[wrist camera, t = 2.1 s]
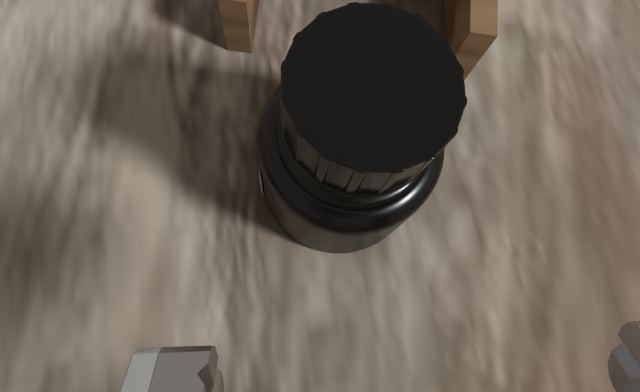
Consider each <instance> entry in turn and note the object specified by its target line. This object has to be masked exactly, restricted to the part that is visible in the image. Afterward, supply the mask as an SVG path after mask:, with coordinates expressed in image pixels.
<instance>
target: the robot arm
mask: <svg viewBox="0 0 640 392" xmlns="http://www.w3.org/2000/svg"><path fill="white" fill-rule="evenodd" d="M618 336H619V337H620V339H621V340H622V343H620V344H619V345H618V346H617V347H615V348H614V349H613V350H612V351H611V354H610V356H609V359H608V371H609V377H610V380H611V382H612V385H613V387H614V389H615V391H616V392H640V321H634V322H627V323H626V324H624V325H623V326H622V327H621V330H620V332H619V334H618ZM217 362H218V354H217V351H216V347H215V346H184V347H157V348H137V350H136V351H135V352H134V354H133V355H132V357H131V360H130V363H129V366H128V369H127V372H126V375H125V378H124V381H123V384H122V386H121V389H120V392H224V383H223V376H222V372H221V371H220V370H218V369H217Z"/></svg>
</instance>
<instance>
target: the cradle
mask: <svg viewBox="0 0 640 392" xmlns="http://www.w3.org/2000/svg"><path fill="white" fill-rule="evenodd" d="M218 2H219V8H220V13H221V19H222V24H223V30H224V35H225V41H226V47H227V50H233V51H241V52H248V53H251V52H252V45H253V38H254V31H255V25H256V18H257V11H258V4H259V0H218ZM442 36H444V37H445V38H446V39H447V40H448V41H449V45H450V47H451V49H452V50H453V52H454V54H455V56H456V58H457V60H458V61H459V63H460V64H461V65H462V67H463V70H464V75H463V77H464V80H465V78H466V77H467V76H468V74H469V73H470V72H471V70H472V69H473V68H474V66H475V65H476V64H477V62H478V61H479V60H480V58H481V57H482V56H483V54H484V53H485V52H486V50H487V49H488V48H489V46H490V45H491V44H492V42H493V41H494V40H495V38H496V37H497V0H444V7H443V35H442Z"/></svg>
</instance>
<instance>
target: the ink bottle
mask: <svg viewBox="0 0 640 392" xmlns="http://www.w3.org/2000/svg"><path fill="white" fill-rule="evenodd" d="M463 75H464V70H463V67H462V65H461V64H460V63H459V61H458V60H457V58H456V56H455V54H454V52H453V50H452V49H451V47H450V45H449V41H448V40H447V39H446V38H445V37H444V36H442V35H441V34H440V33H438V32H437V31H436V30H435V29H434V28H433V27H431V26H430V25H429V24H428V23H427V22H425V20H424V19H423V18H422V17H421V16H419V15H416V14H415V15H414V14H412V13H409V12H407V11H404V10H401V9H399V8H396V7H393V6H392V5H391V4H387V3H382V4H366V3H357V2H353V3H349V4H347V5H346V6H343V7H340V8H337V9H334V10H331V11H328V12H322V13H320V14H319V15H317V17H316V19H314V20H313V21H312V22H311V23H310V24H309V25H307V26H306V27H305V28H304V29H303V30H302V31H301V32H298V33H297V34H296V35H295V36H294V38H293V43H292V45H291V47H290V49H289V51H288V53H287V56H286V58H285V60H284V61H283V62H282V65H281V85H280V86H279V87H278V88H277V89H276V90H275V91H274V93H273V94H272V96H271V97H270V99H269V100H268V102H267V104H266V106H265V108H264V110H263V112H262V115H261V118H260V121H259V125H258V130H257V159H258V168H259V176H260V185H261V191H262V195H263V196H264V199H265V202H266V204H267V207H268V209H269V211H270V212H271V214H272V216H273V217H274V219H275V220H276V221H277V223H278V224H279V225H280V226H281V227H282V228H283V229H284V230H285V231H286V232H287V233H288V234H289V235H290V236H292V237H293V238H294V239H296V240H297V241H299V242H301V243H302V244H304V245H306V246H308V247H311V248H313V249H316V250H319V251H323V252H328V253H349V252H355V251H359V250H362V249H365V248H367V247H370V246H372V245H374V244H376V243H378V242H379V241H381V240H382V239H384V238H385V237H387V236H388V235H389V234H390V233H391V232H393V231H394V230H395V229H396V228H397V227H399V226H400V225H401V224H402V223H403V222H404V221H406V220H407V219H408V218H409V217H410V216H412V215H413V214H414V213H415V212H416V211H417V210H418V209H419V208H420V207H421V206H422V205H423V204H424V202H425V201H426V200H427V198H428V197H429V196H430V194H431V193H432V191H433V189H434V187H435V185H436V183H437V181H438V179H439V176H440V173H441V170H442V166H443V161H444V148H445V146H446V145H447V144H448V143H449V142H450V141H451V140H452V139H453V138H454V137H455V135H456V134H457V132H458V125H459V123H460V120H461V117H462V114H463V110H464V108H465V107H466V105H467V97H466V96H465V85H464V77H463Z"/></svg>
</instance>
